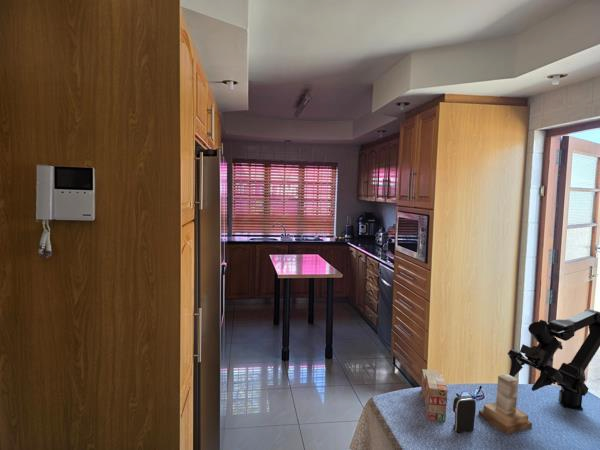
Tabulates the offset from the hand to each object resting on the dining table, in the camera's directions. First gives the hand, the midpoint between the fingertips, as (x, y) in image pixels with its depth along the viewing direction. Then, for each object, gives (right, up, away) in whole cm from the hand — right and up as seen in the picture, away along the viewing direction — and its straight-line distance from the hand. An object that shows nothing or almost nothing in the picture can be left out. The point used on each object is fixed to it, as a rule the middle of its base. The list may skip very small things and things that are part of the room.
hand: (520, 383), depth 142 cm
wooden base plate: (-6, -14, -1) cm, 15 cm away
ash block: (-6, -9, -2) cm, 11 cm away
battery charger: (-24, -13, -6) cm, 28 cm away
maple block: (-6, -11, -1) cm, 13 cm away
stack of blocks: (-29, -12, +8) cm, 32 cm away
